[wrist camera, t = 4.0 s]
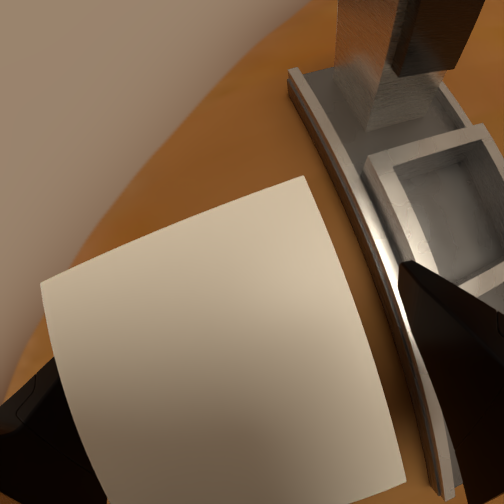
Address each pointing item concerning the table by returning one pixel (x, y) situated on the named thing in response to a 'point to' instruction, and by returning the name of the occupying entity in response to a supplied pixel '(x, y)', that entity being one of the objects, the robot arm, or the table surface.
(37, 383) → the robot arm
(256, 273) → the white angular block
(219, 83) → the table surface
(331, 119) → the rail
